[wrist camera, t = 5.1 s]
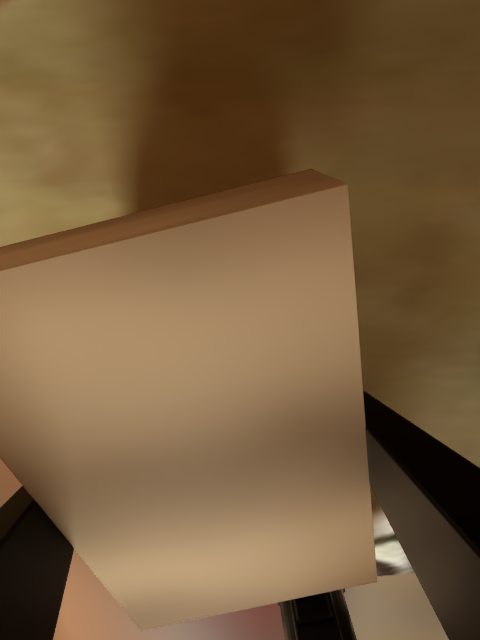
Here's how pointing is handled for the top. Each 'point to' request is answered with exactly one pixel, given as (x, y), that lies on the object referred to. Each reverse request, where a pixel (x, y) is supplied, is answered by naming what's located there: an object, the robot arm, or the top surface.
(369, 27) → the top surface
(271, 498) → the birch board
